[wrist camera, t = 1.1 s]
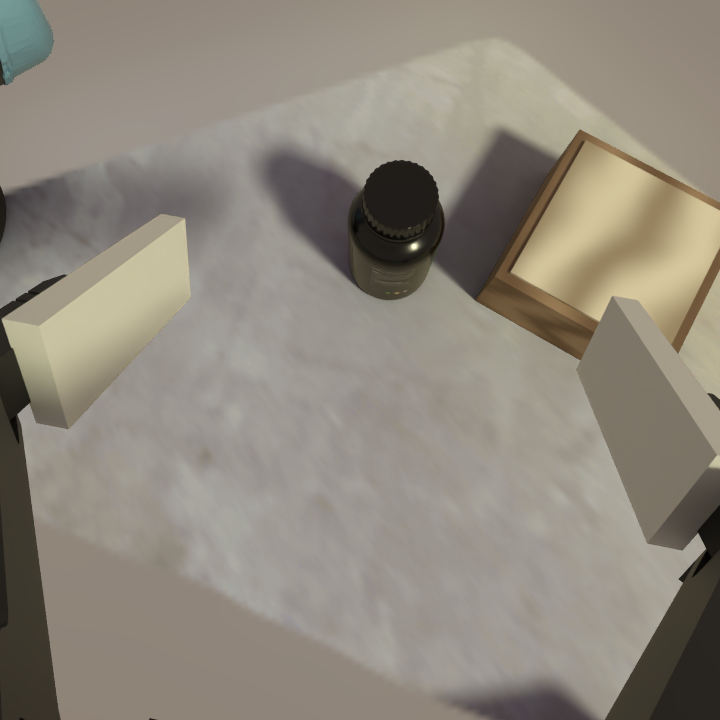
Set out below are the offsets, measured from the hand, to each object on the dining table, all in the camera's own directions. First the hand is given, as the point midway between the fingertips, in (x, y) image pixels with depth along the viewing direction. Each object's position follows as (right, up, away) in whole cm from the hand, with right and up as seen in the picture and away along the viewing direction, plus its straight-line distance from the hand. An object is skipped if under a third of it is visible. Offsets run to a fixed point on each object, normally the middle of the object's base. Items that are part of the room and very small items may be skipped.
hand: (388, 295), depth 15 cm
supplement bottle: (+2, +6, +27) cm, 28 cm away
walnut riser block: (+19, +5, +27) cm, 33 cm away
